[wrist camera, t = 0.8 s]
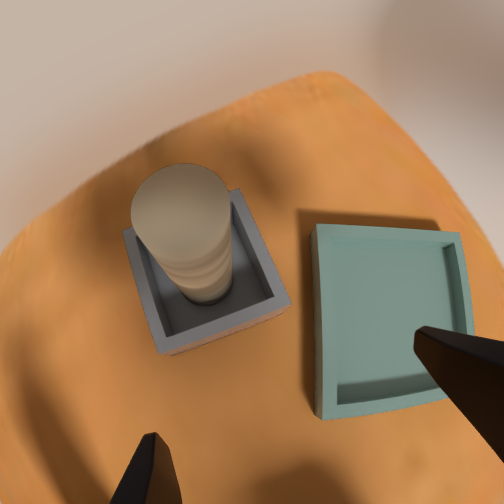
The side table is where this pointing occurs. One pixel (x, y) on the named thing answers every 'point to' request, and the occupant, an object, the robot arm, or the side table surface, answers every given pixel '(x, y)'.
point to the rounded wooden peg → (187, 229)
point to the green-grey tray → (381, 314)
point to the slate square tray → (223, 313)
